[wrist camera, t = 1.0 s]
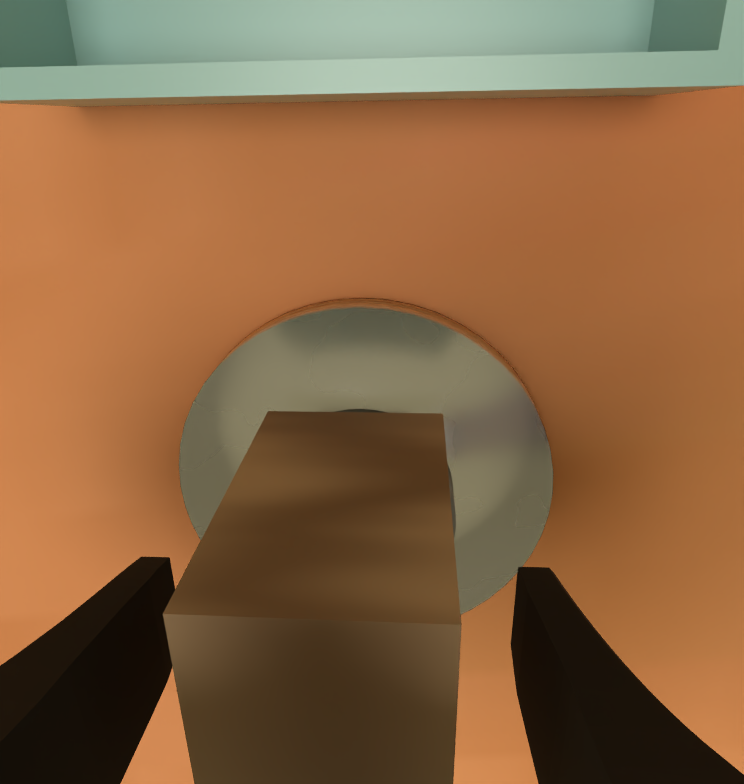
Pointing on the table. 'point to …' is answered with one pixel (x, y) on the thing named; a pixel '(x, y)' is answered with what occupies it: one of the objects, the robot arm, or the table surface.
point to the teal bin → (362, 50)
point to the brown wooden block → (325, 608)
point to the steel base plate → (392, 395)
